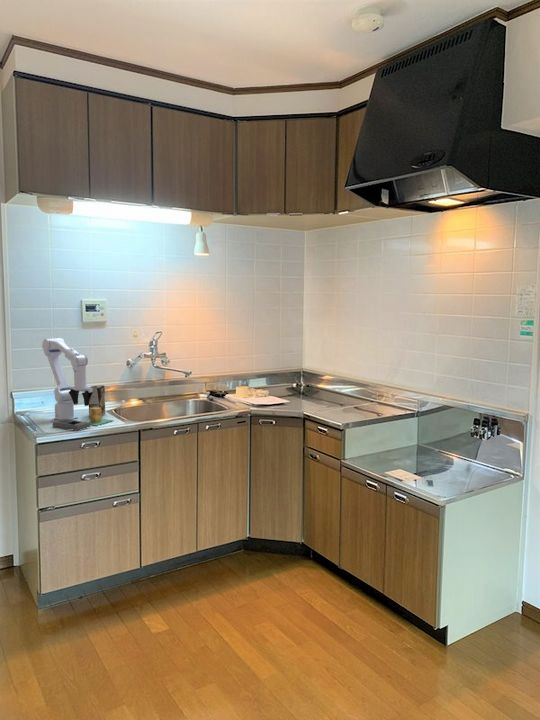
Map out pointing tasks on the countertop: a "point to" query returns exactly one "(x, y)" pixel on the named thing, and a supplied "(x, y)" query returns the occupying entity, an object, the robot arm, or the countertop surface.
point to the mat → (99, 422)
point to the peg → (95, 414)
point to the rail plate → (71, 424)
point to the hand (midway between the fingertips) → (81, 404)
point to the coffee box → (98, 398)
